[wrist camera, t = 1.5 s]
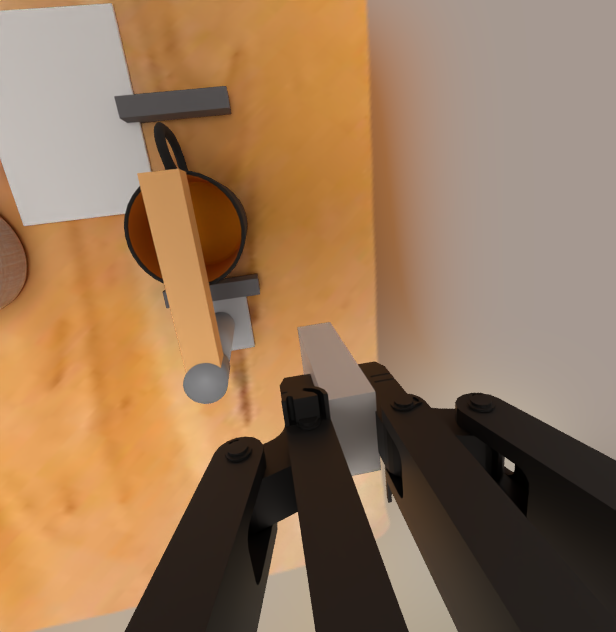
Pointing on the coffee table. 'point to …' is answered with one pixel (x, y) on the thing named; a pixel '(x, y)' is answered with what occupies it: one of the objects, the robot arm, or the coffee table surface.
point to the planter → (11, 264)
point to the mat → (66, 114)
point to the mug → (210, 213)
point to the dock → (229, 290)
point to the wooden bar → (186, 282)
